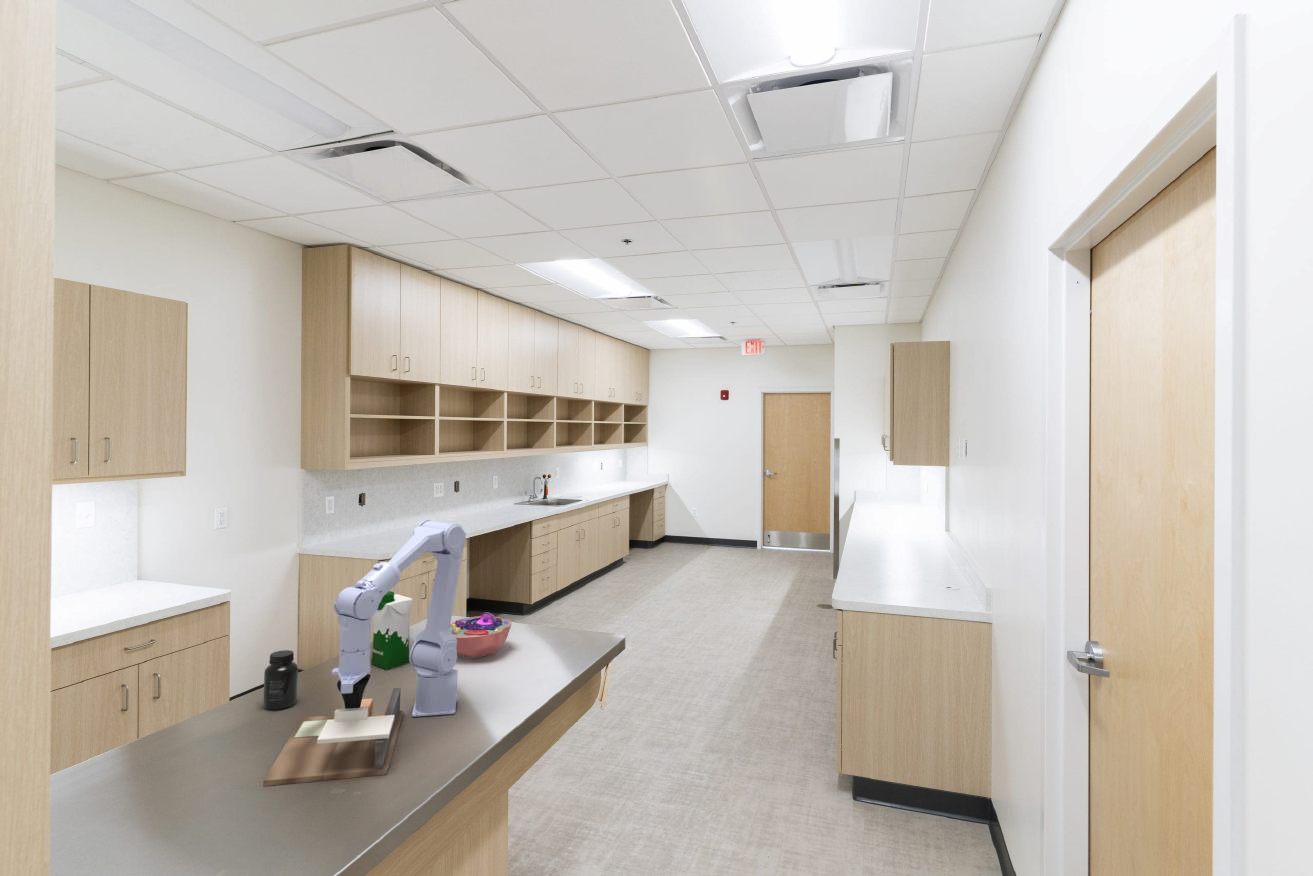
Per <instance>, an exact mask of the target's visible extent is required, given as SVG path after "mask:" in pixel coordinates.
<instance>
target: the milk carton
mask: <svg viewBox="0 0 1313 876" xmlns="http://www.w3.org/2000/svg"><path fill="white" fill-rule="evenodd" d="M413 601H414V599H413V598H411V597H408V596H404V595H401V594H398V593H396V594H395V592H394V591H391V590H390V591H389V592H388V593H386V594H385V595H384V596H383V597H382V601H381V602H380V603H379V606H378V609H377V611H376V613H375V614H374V615H373V634H372V651H371V653H372V654H371V660H370V665H372V666H375V667H378V668H380V669H382V670H385V671H389V670H392V669H395V668H397V667H401V666H404V665H406V664H410V660H409V654H410V625H411V623H410V622H411V621H410V620H411V609H412V606H413Z"/></svg>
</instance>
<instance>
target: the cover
mask: <svg viewBox="0 0 1313 876" xmlns="http://www.w3.org/2000/svg"><path fill="white" fill-rule="evenodd" d="M334 715H335V717H334V719H332V720H327V722H326V724H325V726H324V728H323V729H322V731H321V733H320V735H319V737H318V739H317V744H322V743H334V742H346V741H359V740H371V739H383V738H389V735H390V732H391V728H392V725H393V722H394V716H395V715H387V716H373V717H368V707H363V708H349V709H345V708H338V709H335V711H334Z"/></svg>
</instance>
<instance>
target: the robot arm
mask: <svg viewBox="0 0 1313 876" xmlns="http://www.w3.org/2000/svg"><path fill="white" fill-rule="evenodd" d="M466 536H467V533H466V532H465V530H464V528H463V527H462V525H460V524H459V523H451V522H450V523H449V522H442V521H435V520H430V519H425V520H422V521H421V522H420V523H419V524H418V525H417V526H416V527H414V529H413V532H412V535H411V537H410V539H408V540H407V542H405V544H403V546H401V548H400V549H399V550H398V551H397V552H396V553H395V554H394V555H393V556H392V558H391V559H390V560H389V561H381V562H379V563H375V564H374V565H373V566H372V569H370V571H368V573H366V574H365V575H364V576H363V577H361V579H359V580H358V581H357V582H356V584H354V586H347V587H346V588H344V589H342V590H341V591H340V592H339V593H338V595H337V596H336V599H335V602H334V603H333V610H334V612H335V613H336V615H337V621H338V622H337V623H339V645H338V648H339V649H338V650H339V651H338V667H334V668H333V669H332V671H331V675H332V676H338V679H339V680H338V681H337V683H336V687H337V689H338V691H339V692H340V694H341V696H342V699H343V703H344V709H349V708H360V706H361V702H362V699H363V696H364V694H365V693H364V692H365V689H366V687H367V685H368V683H369V681H370V679H371V674H370V672H371V671H372V668H371V667H372V666H371V641H372V640H371V639H372V638H371V637H372V616H374V614H375V613H376V611H377V609H378V606H379V603H380V602H381V601H382V597H383V596H384V595H385V594H386V593H388V592H389V591H391V590H392V589H393V588H394V587H395V586H396V585H397V584H398V583H399V582H400V579H401V573H402V572H403V571H404V570H405V569H407V568H408V567H409V566H410V565H412V564H413V563H414V562H415V561H416V560H418V558H420V557H421V556H423V554H424V553H425V554H426V552H427V553H428V552H429V553H431V554H432V556H433V557H434V558H435V560H436V561H437V562H436V563H437V564H436V569H435V574H434V578H433V579H434V580H433V585H432V586H433V587H432V590H431V596H430V602H429V606H428V607H429V608H428V612H427V618H426V623H425V627H424V629H423V630H421V631H420V632H418V633H417V634H416V635H415V639H414V643H413V645H412V647H411V648H410V650H409V664H410V665H411V666H413V667H414V668H413V669H414V672H416V674H415V675H416V677H415V678H416V680H415V682H416V683H415V701H414V704H413V709H412V713H411V717H413V718H416V717H427V716H428V717H432V716H442V715H443V716H445V715H455V714H456V709H457V702H458V701H459V693H458V674H459V673H458V669H453V668H455V666H456V663H457V659H458V654H457V650H456V646H457V639H456V638H455V637H454V636H453V634H452V633H451V632H450V630H449V628H450V624H451V623H452V617H453V610H454V606H455V605H454V604H455V599H456V594H457V588H458V582H459V579H460V577H459V576H460V572H461V571H460V570H461V565H462V561H463V560H462V559H463V553H464V547H465V543H466V538H467V537H466Z"/></svg>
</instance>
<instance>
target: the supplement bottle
mask: <svg viewBox="0 0 1313 876" xmlns="http://www.w3.org/2000/svg"><path fill="white" fill-rule="evenodd" d="M294 655H295V652H294V651H293V650H289V649H287V650H286V649H285V650H278V651H274V652H271V653H270V654H269V661H268V663H269V664H268V666H267V667H266V668H265V669H264V674H263V707H264V708H265V709H267V710H268V711H279V710H285V709H288V708H290V707H292V706H294V705H295V704H296V703H297V701H298V690H299V689H298V685H299V683H298V681H299V666H298V663H296V662H295V661H294V660H295V657H294Z"/></svg>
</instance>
